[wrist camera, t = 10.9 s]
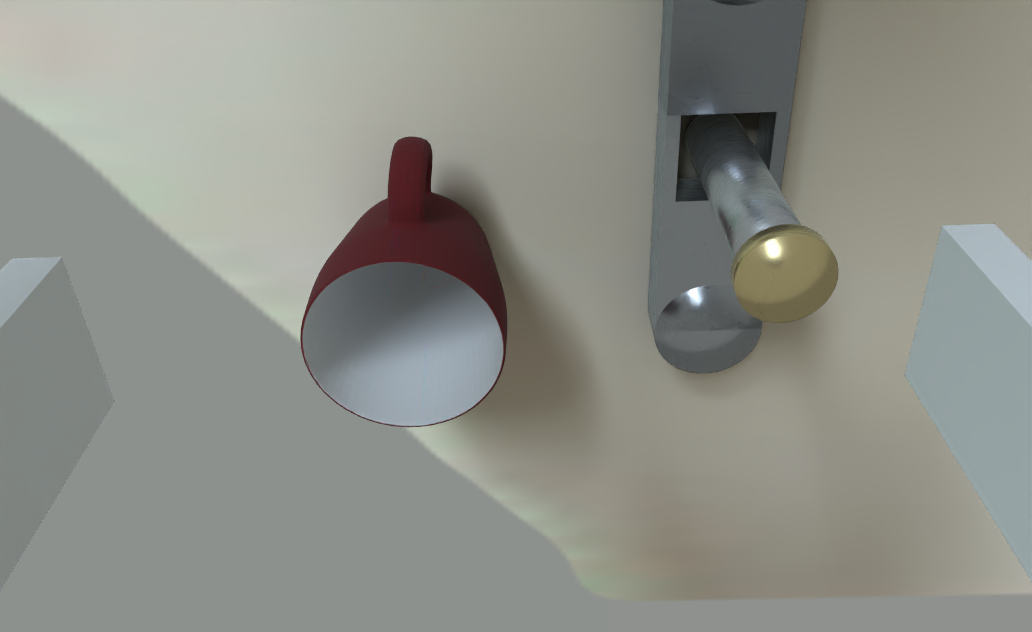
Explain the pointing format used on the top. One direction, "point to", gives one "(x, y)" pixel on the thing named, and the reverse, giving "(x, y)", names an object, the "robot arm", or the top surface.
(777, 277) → the pin
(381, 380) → the mug
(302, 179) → the top surface
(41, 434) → the robot arm
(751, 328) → the grey rounded bar
